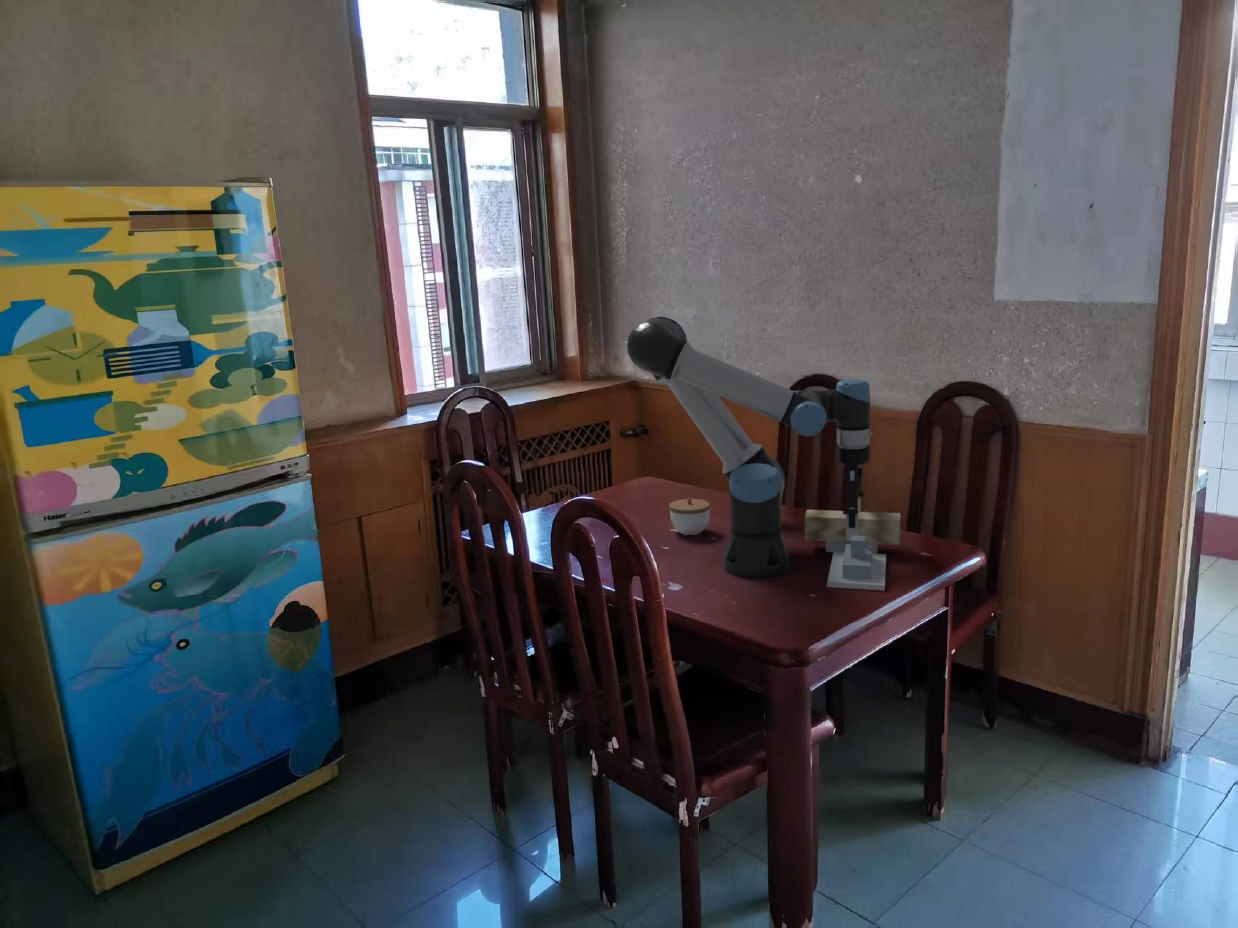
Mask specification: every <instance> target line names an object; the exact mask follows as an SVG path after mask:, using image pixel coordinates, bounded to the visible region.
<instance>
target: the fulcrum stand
mask: <svg viewBox="0 0 1238 928" xmlns="http://www.w3.org/2000/svg"><path fill="white" fill-rule="evenodd" d="M832 553H833V554H832V558H831V562H830V566H829V567H830V568H829V572H828V577H827V581H826V582H827V584H826V588H837V589H838V588H839V589H840V588H841V589H852V590H853V589H856V590H870V591H871V590H872V591H884V592H885V587H886V566H887V565H886V564H887V554H885V553H877V554H873V546H869V545H865V536H856V535H852V537H851V545H849V544H846V548H845V552H832Z"/></svg>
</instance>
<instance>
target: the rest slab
mask: <svg viewBox="0 0 1238 928" xmlns="http://www.w3.org/2000/svg"><path fill="white" fill-rule="evenodd" d="M846 544H849V545H851V543H849V542H829V541H825V552H827V553H833V552H845V548H846ZM865 545H869V546H873V554H879V553H878V550H879V544H869V543H865Z"/></svg>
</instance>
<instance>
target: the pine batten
mask: <svg viewBox="0 0 1238 928" xmlns="http://www.w3.org/2000/svg"><path fill="white" fill-rule="evenodd" d="M843 511H844V510H829V509H828V510H824V509H806V512H805V515H804V541H812V542H826V541H829V542H849V543H851V541H850V540H846V514H843ZM858 536H865V543H869V544H878V545H892V546H893V545H895V546H897V545H898V546H900V545H901V544H900V543H901V542H900V541H901V513H900V512H882V511H881V512H875V511H861V512H858Z"/></svg>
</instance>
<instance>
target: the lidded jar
mask: <svg viewBox="0 0 1238 928" xmlns="http://www.w3.org/2000/svg"><path fill="white" fill-rule="evenodd" d="M668 507H669V514H670V515H669V516H670V521H671V524H672V526H673V528H674V529H675V530H676V531H677V532H678V533H679V532H680V533H681V534H684V535H683V536H686V535H694V536H698V535H697V534H699V533H701V532H702V533H703V531H704V530H705V529H706V528H707V527H708V526H707V525H708V524H709V520H710V515H711V514H710V513H711V512H710V511H711V510H710V508H711V503H710V502H709V501H707V500H705V499H699V498H691V497H687V498H684V499H677V500H674V501H671V502H670V503H669V505H668ZM680 533H679V534H680ZM702 533H701V534H702ZM681 534H680V535H681ZM699 535H700V534H699Z"/></svg>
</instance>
